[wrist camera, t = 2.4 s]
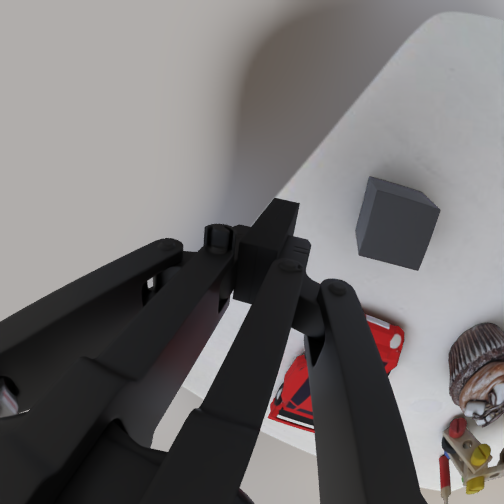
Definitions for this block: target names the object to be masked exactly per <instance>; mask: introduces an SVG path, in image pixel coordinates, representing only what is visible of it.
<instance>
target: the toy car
mask: <svg viewBox="0 0 504 504" xmlns="http://www.w3.org/2000/svg"><path fill="white" fill-rule="evenodd" d="M365 317H366V319H367V322H368V324H369V327H370V329H371V332H372V334H373V337H374V340H375V342H376V345H377V348H378V350H379V353H380V356H381V359H382V361H383V364H384V367H385V370H386V373H387V376H389V374H390V371H391V370H392V369H393V368H395V367H396V366H397V363H398V360H399V356H400V353H401V350H402V345H403V342H404V331H403V330H402V329H401V328H400V327H399V326H394V325H392V324H389V323H387V322H384V321H382V320H379V319H377V318H374V317H372V316H369V315H367V314H365ZM270 409H271V412H270V414H269V416H268V418H269V419H272V420H275V421H278V422H281V423H284V424H287V425H290V426H293V427H296V428H299V429H303V430H306V431H309V432H313V433H315V431H314V429H312V428H309V427H305V426H302V425H299V424H296V423H293V422H289V421H286V420H283V419H280V418H278V417H277V415H281V416H284V417H287V418H290V419H293V420H296V421H300V422H303V423H306V424H309V425H313V426H314V421H313V411H312V402H311V393H310V385H309V376H308V368H307V360H306V352H305V355H301V356H297V358H296V359H295V361H294V362H293V364H292V365H291V367H290V368H289V370H288V371H287V373H286V374H285V377H284V383H283V384H282V385H281V386H280V388H279V390H278V392H277V394H276V397H275V398H274V399H273V402H272V403H271V405H270Z"/></svg>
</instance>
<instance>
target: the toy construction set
mask: <svg viewBox="0 0 504 504" xmlns="http://www.w3.org/2000/svg"><path fill="white" fill-rule="evenodd" d="M466 426H467V421H466V420H465V419H464V418H459V419H457V418H456V419H454V420H453V421H452V422H451V424H450V427H449V428H448V429H446V430H445V431H443V439H442V448H443V449H444V454H445V455H444V456H441V457H440V458H439V464H440V482H441V497H442V498H443V500H444V504H448V497H449V495H450V494H451V486H450V471H449V459H451V460H452V462H453V463H454V465H455V467H456V468H457V470H458V471H459V473H460V474H461V476H462V482H463V486H466V493H467V494H474V493H477V492H479V491H480V490H482V489H483V488H484V482H485V481H489V480H492V479H496V478H500V477H503V476H504V448H503V450H502V452H501V453H500V460H499V462H498V464H497V466H493V467H489V468H488V462H490V461H491V459H492V456H491V455H490V452H491V448H490V446H488V445H487V444H481V443H480V442H479V441H478V440H477V439H476V438H475V437H474V436H473V434H472V433H471V432H470V431H469V430H468V429H467V428H466ZM470 444H471V447H470ZM459 459H460V460H459Z"/></svg>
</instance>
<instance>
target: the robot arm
mask: <svg viewBox="0 0 504 504" xmlns="http://www.w3.org/2000/svg"><path fill="white" fill-rule="evenodd" d="M299 204H300V203H296V202H291V201H287V200H282V199H278V198H274V199H273V200H272V202H271V203H270V204H269V205H268V207H267V208H266V209H265V210H264V212H263V213H262V214H261V215H260V217H259V218H258V219H257V220H256V222H255V223H254V224H253V225H252V227H248V226H244V225H237V226H234V227H232V226H228V225H224V224H211V225H208V226H206V227H205V233H204V246H203V247H202V248H201V249H200V250H199V251H198V252H188V251H183V244H182V243H181V242H180V241H178V240H175V239H172V238H165V239H160V240H157V241H154V242H152V243H150V244H148V245H146V246H144V247H142V248H140V249H137V250H135V251H133V252H131V253H129V254H127V255H125V256H123V257H121V258H119V259H117V260H115V261H113V262H111V263H108V264H107V265H105V266H102V267H101V268H98V269H97V270H95V271H93V272H91V273H89V274H87V275H85V276H83V277H81V278H79V279H77V280H75V281H74V282H71V283H69V284H67V285H66V286H64V287H62V288H60V289H58V290H56V291H54V292H52V293H51V294H49V295H47V296H45V297H43V298H41V299H40V300H38V301H36V302H34V303H33V304H31V305H29V306H27V307H25V308H23V309H22V310H20V311H18V312H17V313H15V314H13V315H11V316H9V317H8V318H6V319H4V320H3V321H1V322H0V504H254V502H253V501H252V500H251V499H250V498H249V497H248V495H247V494H245V493H244V492H243V491H242V490H241V489H240V488H239V487H240V484H241V482H242V479H243V477H244V474H245V471H246V469H247V466H248V463H249V460H250V457H251V454H252V452H253V449H254V446H255V443H256V440H257V437H258V435H259V432H260V428H261V425H262V422H263V419H264V416H265V413H266V410H267V407H268V403H269V400H270V397H271V394H272V391H273V387H274V384H275V381H276V378H277V374H278V371H279V368H280V364H281V361H282V357H283V354H284V351H285V347H286V344H287V340H288V336H289V333H290V329H291V327H292V328H294V329H296V330H297V331H299V332H301V333H303V334H305V335H304V344H305V352H306V360H307V368H308V376H309V385H310V393H311V402H312V411H313V421H314V431H315V442H316V453H317V465H318V476H319V491H320V504H427V502H426V501H425V499H424V498H423V496H422V494H421V492H420V488H419V483H418V479H417V474H416V470H415V466H414V462H413V458H412V454H411V451H410V447H409V443H408V440H407V436H406V432H405V429H404V426H403V422H402V419H401V416H400V412H399V409H398V406H397V403H396V400H395V396H394V393H393V390H392V387H391V384H390V381H389V378H388V376H387V373H386V370H385V367H384V364H383V361H382V359H381V356H380V353H379V350H378V348H377V345H376V342H375V340H374V337H373V334H372V332H371V329H370V327H369V324H368V322H367V319H366V317H365V314H364V312H363V309H362V307H361V304H360V302H359V300H358V297H357V295H356V292H355V290H354V289H353V287H352V286H351V285H349V284H348V283H347V282H345V281H342V280H338V279H326V280H324V281H323V282H322V283H321V284H319V283H317V282H315V281H313V280H312V279H311V278H309V277H308V275H307V274H306V266H307V262H308V257H309V253H310V249H311V244H310V242H309V241H308V240H307V239H303V238H298V237H294V236H293V234H294V229H295V224H296V219H297V214H298V209H299ZM152 277H153V287H151V288H148V285H147V280H149V279H151V278H152ZM233 290H234V293H233V299H235V300H238V301H242V302H245V303H249V304H252V305H251V307H250V309H249V311H248V313H247V316H246V318H245V320H244V322H243V324H242V326H241V328H240V330H239V332H238V334H237V336H236V338H235V340H234V342H233V344H232V346H231V348H230V350H229V352H228V354H227V356H226V358H225V360H224V362H223V364H222V366H221V368H220V370H219V372H218V374H217V375H216V377H215V379H214V381H213V383H212V385H211V387H210V389H209V391H208V393H207V395H206V397H205V399H204V401H203V403H202V404H201V406H200V407H199V408H197V409H194V410H193V411H192V412H191V413H190V414H189V416H188V417H187V419H186V420H185V422H184V424H183V426H182V428H181V430H180V431H179V433H178V435H177V437H176V439H175V441H174V442H173V444H172V446H171V448H170V450H169V452H164V451H160V450H155V449H151V448H150V447H151V444H152V439H153V434H154V431H155V429H156V427H157V425H158V424H159V422H160V420H161V419H162V417H163V415H164V413H165V412H166V410H167V409H168V407H169V405H170V404H171V402H172V400H173V399H174V397H175V395H176V394H177V392H178V390H179V389H180V387H181V385H182V384H183V382H184V380H185V379H186V377H187V375H188V374H189V372H190V370H191V368H192V367H193V365H194V363H195V362H196V360H197V358H198V357H199V355H200V353H201V352H202V350H203V348H204V347H205V345H206V343H207V341H208V340H209V338H210V336H211V335H212V333H213V331H214V330H215V328H216V326H217V325H218V323H219V321H220V319H221V318H222V316H223V314H224V313H225V311H226V309H227V308H228V306H229V302H230V295H231V293H232V291H233ZM29 409H30V410H29ZM26 410H29V411H28V412H24V413H20V412H23V411H26ZM19 413H20V414H19Z"/></svg>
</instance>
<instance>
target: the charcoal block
mask: <svg viewBox="0 0 504 504" xmlns="http://www.w3.org/2000/svg"><path fill="white" fill-rule="evenodd" d="M439 213H440V209H439V208H438V207H437V206H436V205H435V204H434V203H433V202H432V201H431V200H430V199H429V198H428V197H427V196H426V195H425V194H423V193H422V192H420V191H417V190H414V189H411V188H408V187H404V186H401V185H398V184H395V183H391V182H388V181H384V180H381V179H377V178H374V177H369V180H368V184H367V188H366V192H365V196H364V200H363V204H362V208H361V212H360V215H359V219H358V223H357V226H356V230H355V231H356V238H357V246H358V254H359V255H360V256H363V257H367V258H371V259H375V260H379V261H383V262H387V263H390V264H394V265H398V266H402V267H406V268H409V269H413V270H417V271H418V270H419V267H420V265H421V263H422V260H423V258H424V255H425V252H426V250H427V247H428V245H429V242H430V239H431V236H432V234H433V231H434V228H435V225H436V222H437V219H438V216H439Z"/></svg>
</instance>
